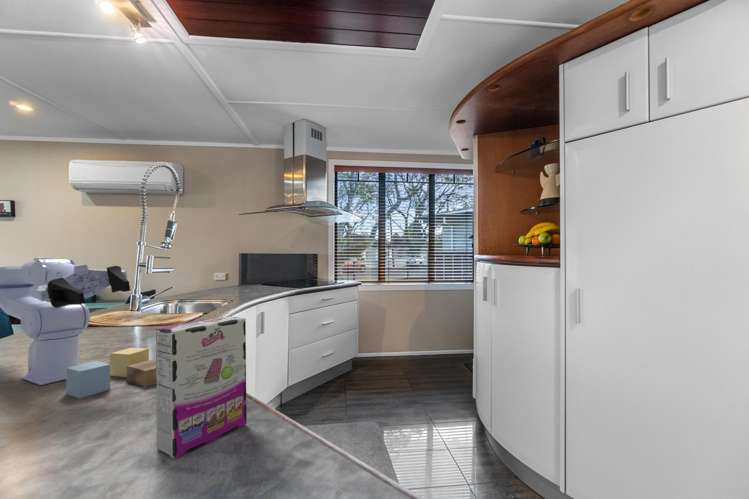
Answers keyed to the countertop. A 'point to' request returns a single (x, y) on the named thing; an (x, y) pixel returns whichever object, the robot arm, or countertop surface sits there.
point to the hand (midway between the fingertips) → (106, 292)
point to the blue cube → (88, 379)
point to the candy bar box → (200, 383)
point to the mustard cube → (127, 360)
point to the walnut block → (142, 373)
